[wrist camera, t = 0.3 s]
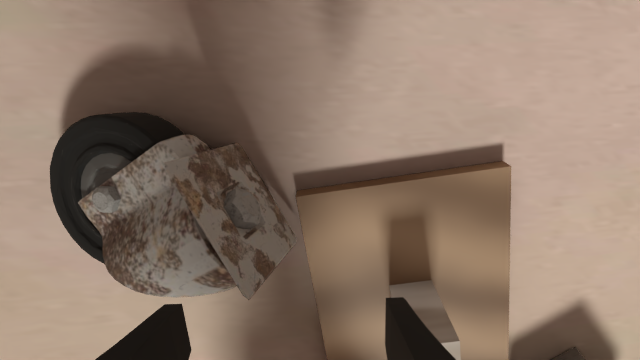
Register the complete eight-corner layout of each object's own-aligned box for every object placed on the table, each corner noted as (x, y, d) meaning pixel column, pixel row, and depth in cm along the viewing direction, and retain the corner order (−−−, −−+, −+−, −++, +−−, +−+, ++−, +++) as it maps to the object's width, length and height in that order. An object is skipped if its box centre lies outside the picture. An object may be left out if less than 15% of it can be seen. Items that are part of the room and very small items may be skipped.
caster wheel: (94, 152, 24) (203, 66, 20) (185, 296, 24) (305, 236, 21) (-23, 173, 17) (107, 54, 14) (105, 367, 18) (258, 297, 15)
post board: (501, 373, 26) (550, 462, 20) (335, 390, 27) (337, 481, 21) (502, 161, 21) (569, 201, 15) (296, 190, 22) (286, 239, 16)
